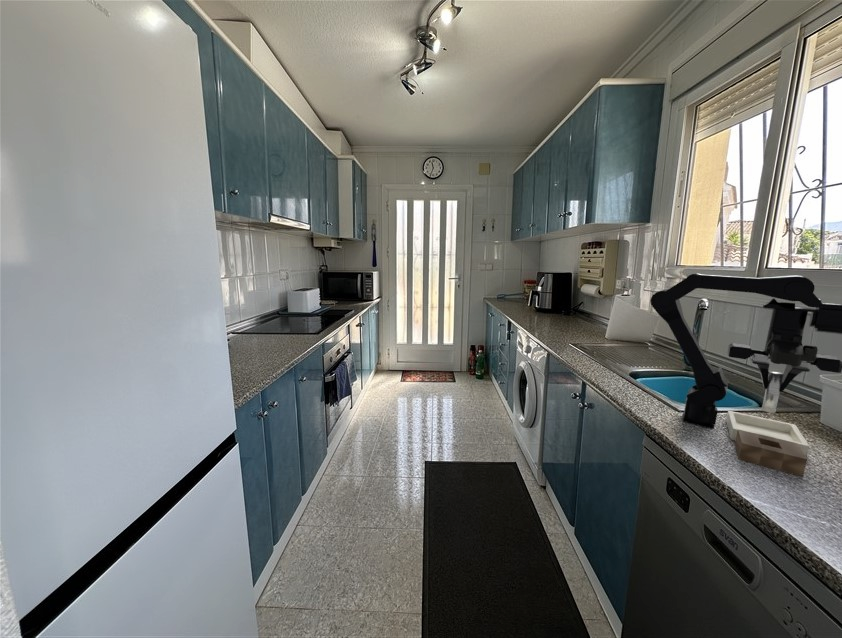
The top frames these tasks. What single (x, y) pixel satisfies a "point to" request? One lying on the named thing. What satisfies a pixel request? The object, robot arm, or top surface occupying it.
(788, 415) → the top surface
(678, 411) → the top surface
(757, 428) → the tray
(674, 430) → the top surface
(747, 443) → the block
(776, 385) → the lock pin
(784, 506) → the top surface
